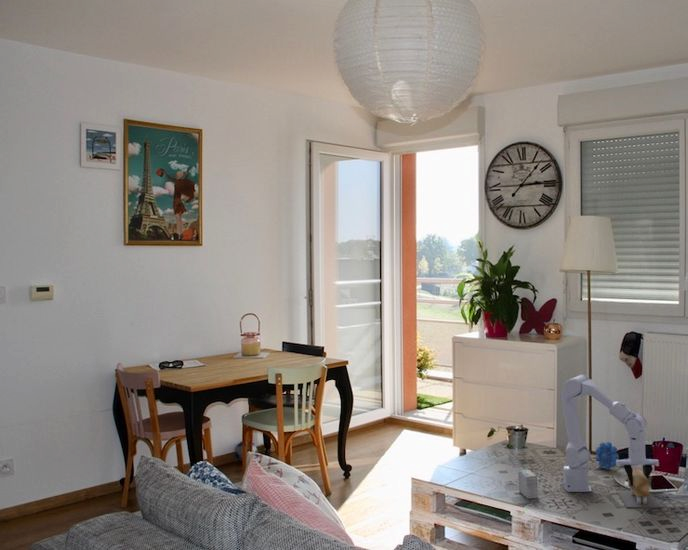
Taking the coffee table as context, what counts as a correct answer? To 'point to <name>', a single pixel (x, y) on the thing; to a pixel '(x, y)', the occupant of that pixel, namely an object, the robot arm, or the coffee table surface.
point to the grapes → (606, 455)
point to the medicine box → (528, 484)
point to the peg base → (638, 500)
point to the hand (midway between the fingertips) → (638, 485)
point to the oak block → (639, 484)
